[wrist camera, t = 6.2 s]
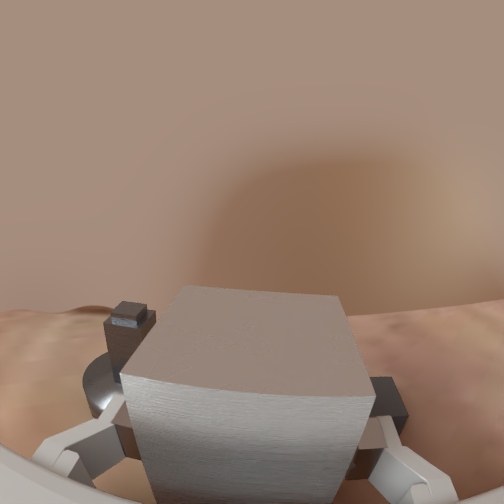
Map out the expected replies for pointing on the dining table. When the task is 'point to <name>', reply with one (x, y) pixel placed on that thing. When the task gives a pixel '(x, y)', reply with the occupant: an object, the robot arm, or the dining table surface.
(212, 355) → the tall grey pillar block
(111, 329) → the ratchet
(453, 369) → the dining table surface
